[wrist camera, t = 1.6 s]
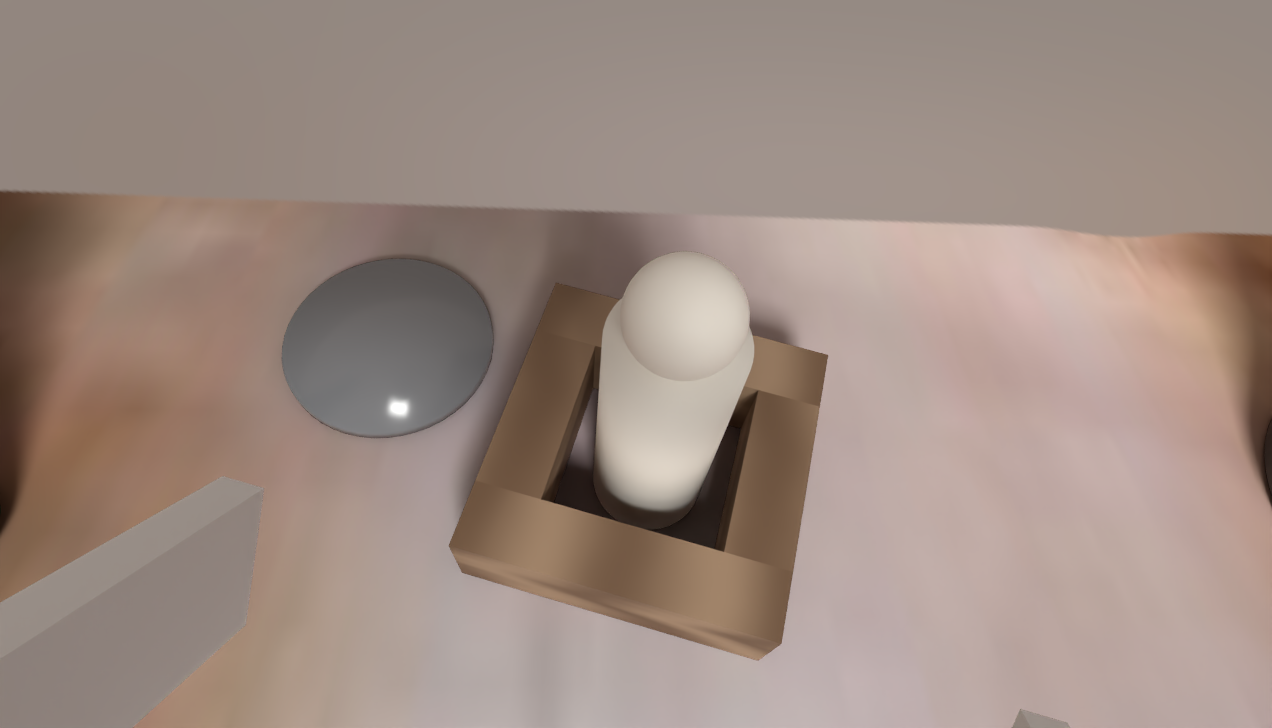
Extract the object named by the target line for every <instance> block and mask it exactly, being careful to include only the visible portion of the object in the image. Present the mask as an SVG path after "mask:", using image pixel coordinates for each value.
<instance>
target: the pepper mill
mask: <svg viewBox="0 0 1272 728" xmlns="http://www.w3.org/2000/svg"><path fill="white" fill-rule="evenodd" d="M749 323H750V309H749V303H748V299H747V296H746V293H745V290H744V288H743V286H742V284H741V283H740V281H739V280H738V278H737V277H736V275H735V274H734V273H733V272H732V271H731V270H730V269H729V268H728V267H727V266H726V265H724V264H723V263H721V262H720V261H718V260H717V259H715V258H713V257H710V256H708V255H705V254H702V253H697V252H689V251H681V252H673V253H669V254H666V255H663V256H660V257H658V258H656V259H654V260H652V261H650V262H649V263H647V264H646V265H645V266H644V267H642V268H641V269H640V270H639V271H638V272H637V273H636V275H635V276H634V277H633V278H632V280H631V281H630V283H629V284H628V286H627V288H626V291H625V293H624V295H623V298H621V299H620V300H619V301H618V302H617V304H616V305H615V306H614V307H613V308H612V310H611V312H610V313H609V315H608V317H607V319H606V322H605V325H604V329H603V335H602V348H601V363H600V379H599V395H598V410H597V426H596V441H595V457H594V472H593V481H594V488H595V491H596V494H597V497H598V499H599V501H600V503H601V504H602V506H603V507H604V508H605V510H606V511H607V512H608V513H609V514H610V515H611V516H612V517H614V518H615V519H616V520H618V521H619V522H621V523H625V524H628V525H632V526H635V527H639V528H642V529H646V530H651V529H660V528H664V527H667V526H670V525H672V524H674V523H676V522H677V521H679V520H681V519H682V518H683V517H684V516H685V515H686V514H687V513H688V512H689V511H690V510H691V508H692V507H693V505H694V504H695V502H696V499H697V497H698V495H699V492H700V490H701V488H702V485H703V483H704V481H705V478H706V476H707V473H708V471H709V469H710V466H711V464H712V461H713V459H714V457H715V454H716V452H717V449H718V447H719V445H720V442H721V440H722V437H723V435H724V433H725V430H726V428H727V426H728V423H729V421H730V418H731V416H732V414H733V411H734V409H735V406H736V404H737V402H738V399H739V397H740V394H741V392H742V390H743V387H744V385H745V382H746V380H747V378H748V375H749V373H750V370H751V367H752V364H753V359H754V341H753V336H752V333H751V330H750V327H749Z"/></svg>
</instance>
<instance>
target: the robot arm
mask: <svg viewBox="0 0 1272 728" xmlns="http://www.w3.org/2000/svg"><path fill="white" fill-rule="evenodd" d="M1265 467H1266V474H1267V479H1268V484H1269V487H1270V490H1271V494H1272V420H1271V422H1270V425H1269V427H1268V431H1267V435H1266V441H1265ZM263 493H264V488H262V487H258V486H255V485H251V484H248V483H245V482H241V481H238V480H234V479H231V478H227V477H224V476H222V477H220V478H218V479H217V480H215V481H213V482H211V483H210V484H208V485H206V486H204V487H203V488H201V489H199V490H197V491H195V492H194V493H192V494H190V495H188V496H187V497H185V498H183V499H181V500H180V501H178V502H176V503H174V504H173V505H171V506H169V507H167V508H166V509H164V510H162V511H160V512H159V513H157V514H155V515H153V516H152V517H150V518H148V519H146V520H145V521H143V522H141V523H139V524H137V525H136V526H134V527H132V528H130V529H129V530H127V531H125V532H123V533H122V534H120V535H118V536H116V537H115V538H113V539H111V540H109V541H108V542H106V543H104V544H102V545H101V546H99V547H97V548H95V549H94V550H92V551H90V552H88V553H87V554H85V555H83V556H81V557H79V558H78V559H76V560H74V561H72V562H71V563H69V564H67V565H65V566H64V567H62V568H60V569H58V570H57V571H55V572H53V573H51V574H50V575H48V576H46V577H44V578H43V579H41V580H39V581H37V582H36V583H34V584H32V585H30V586H29V587H27V588H25V589H23V590H21V591H20V592H18V593H16V594H14V595H13V596H11V597H9V598H7V599H6V600H4V601H2V602H0V728H132V727H134V726H135V725H136V724H137V723H138V722H139V721H140V720H141V719H142V718H144V717H145V716H146V715H147V714H148V713H149V712H150V711H151V710H152V709H153V708H155V707H156V706H157V705H158V704H159V703H160V702H161V701H162V700H163V699H164V698H166V697H167V696H168V695H169V694H170V693H171V692H172V691H173V690H174V689H175V688H177V687H178V686H179V685H180V684H181V683H182V682H183V681H184V680H185V679H187V678H188V677H189V676H190V675H191V674H192V673H193V672H194V671H195V670H196V669H198V668H199V667H200V666H201V665H202V664H203V663H204V662H205V661H206V660H207V659H209V658H210V657H211V656H212V655H213V654H214V653H215V652H216V651H217V650H219V649H220V648H221V647H222V646H223V645H224V644H225V643H226V642H227V641H228V640H230V639H231V638H232V637H233V636H234V635H235V634H236V633H237V632H238V631H239V630H241V629H242V628H243V627H244V626H245V625H246V619H247V612H248V604H249V597H250V590H251V582H252V575H253V567H254V560H255V553H256V545H257V538H258V530H259V523H260V515H261V508H262V501H263ZM1012 728H1070V726H1069V725H1068V723H1066V722H1063V721H1060V720H1056V719H1053V718H1049V717H1046V716H1042V715H1039V714H1036V713H1032V712H1029V711H1025V710H1022V709H1020V711H1019V713H1018V716H1017V718H1016V720H1015V722H1014V724H1013V727H1012Z"/></svg>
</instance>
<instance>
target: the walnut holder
mask: <svg viewBox="0 0 1272 728" xmlns="http://www.w3.org/2000/svg"><path fill="white" fill-rule="evenodd" d="M618 301H619V299H616V298H612V297H608V296H604V295H601V294H597V293H593V292H589V291H586V290H582V289H578V288H574V287H570V286H567V285H563V284H559V283H556V284H555V286H554V289H553V291H552V293H551V296H550V298H549V301H548V303H547V306H546V308H545V311H544V313H543V316H542V318H541V320H540V323H539V325H538V328H537V330H536V333H535V335H534V338H533V340H532V343H531V345H530V347H529V350H528V352H527V355H526V357H525V360H524V362H523V365H522V367H521V370H520V372H519V374H518V377H517V379H516V382H515V384H514V387H513V389H512V392H511V394H510V397H509V399H508V401H507V404H506V406H505V409H504V411H503V414H502V416H501V419H500V421H499V424H498V426H497V428H496V431H495V433H494V436H493V438H492V441H491V443H490V446H489V448H488V451H487V453H486V455H485V458H484V460H483V463H482V465H481V468H480V470H479V473H478V475H477V478H476V480H475V482H474V485H473V487H472V490H471V492H470V495H469V497H468V500H467V502H466V505H465V507H464V509H463V512H462V514H461V517H460V519H459V522H458V524H457V527H456V529H455V532H454V534H453V536H452V539H451V541H450V544H449V547H450V549H451V551H452V553H453V555H454V557H455V559H456V561H457V563H458V565H459V567H460V569H461V571H462V573H465V574H468V575H472V576H475V577H479V578H482V579H485V580H489V581H492V582H495V583H499V584H502V585H505V586H509V587H512V588H516V589H519V590H522V591H526V592H529V593H532V594H536V595H539V596H542V597H546V598H549V599H553V600H556V601H559V602H563V603H566V604H569V605H573V606H576V607H579V608H583V609H586V610H590V611H593V612H596V613H600V614H603V615H606V616H610V617H613V618H616V619H620V620H623V621H627V622H630V623H633V624H637V625H640V626H643V627H647V628H650V629H653V630H657V631H660V632H664V633H667V634H670V635H674V636H677V637H680V638H684V639H687V640H690V641H694V642H697V643H701V644H704V645H707V646H711V647H714V648H717V649H721V650H724V651H727V652H731V653H734V654H738V655H741V656H744V657H748V658H751V659H754V660H760V659H761V658H762V657H764V656H765V655H767V654H768V653H769V652H771V651H772V650H773V649H775V648H776V647H778V646H779V645H780V644H781V643H782V637H783V630H784V624H785V618H786V612H787V606H788V599H789V593H790V587H791V581H792V575H793V569H794V562H795V556H796V550H797V544H798V538H799V532H800V525H801V519H802V513H803V507H804V501H805V494H806V488H807V482H808V476H809V470H810V464H811V457H812V451H813V445H814V439H815V433H816V427H817V420H818V414H819V408H820V402H821V396H822V389H823V383H824V377H825V371H826V365H827V359H828V355H826V354H822V353H818V352H815V351H811V350H807V349H803V348H800V347H796V346H792V345H788V344H785V343H781V342H777V341H773V340H769V339H766V338H762V337H758V336H754V335H752V336H753V341H754V359H753V364H752V367H751V370H750V373H749V375H748V378H747V380H746V382H745V385H744V387H743V390H742V392H741V394H740V397H739V399H738V402H737V404H736V406H735V409H734V411H733V414H732V416H731V418H730V421H729V423H728V425H730V426H733V427H737V428H741V430H740V435H739V440H738V444H737V449H736V453H735V458H734V462H733V467H732V471H731V476H730V480H729V485H728V490H727V494H726V499H725V503H724V508H723V512H722V517H721V521H720V526H719V531H718V535H717V540H716V544H715V549H712V548H708V547H705V546H701V545H698V544H694V543H691V542H687V541H684V540H681V539H677V538H674V537H670V536H667V535H663V534H660V533H656V532H653V531H649V530H646V529H642V528H639V527H635V526H632V525H628V524H625V523H621V522H618V521H615V520H611V519H608V518H604V517H601V516H597V515H594V514H590V513H587V512H583V511H580V510H576V509H573V508H569V507H566V506H562V505H559V504H555V503H554V500H555V497H556V494H557V492H558V489H559V486H560V483H561V480H562V477H563V474H564V471H565V468H566V465H567V462H568V460H569V457H570V454H571V451H572V448H573V445H574V442H575V439H576V436H577V433H578V430H579V428H580V425H581V422H582V419H583V416H584V413H585V410H586V407H587V404H588V401H589V399H590V396H591V393H592V390H593V388H596V389H599V379H600V363H601V348H602V335H603V329H604V325H605V322H606V319H607V317H608V315H609V313H610V312H611V310H612V308H613V307H614V306H615V305H616V304H617V302H618Z"/></svg>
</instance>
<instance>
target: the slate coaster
mask: <svg viewBox="0 0 1272 728" xmlns="http://www.w3.org/2000/svg"><path fill="white" fill-rule="evenodd" d="M492 352H493V332H492V325H491V321H490V317H489V313H488V311H487V308H486V306H485V304H484V302H483V300H482V299H481V297H480V296H479V294H478V293H477V292H476V291H475V290H474V288H473V287H472V286H471V285H470V284H469V283H467V282H466V281H465V280H464V279H463V278H461V277H460V276H458V275H457V274H455V273H454V272H452V271H450V270H448V269H446V268H443V267H441V266H438V265H435V264H432V263H429V262H424V261H420V260H412V259H387V260H378V261H373V262H369V263H365V264H361V265H358V266H355V267H352V268H350V269H348V270H345V271H343V272H341V273H339V274H337V275H335V276H334V277H332V278H330V279H329V280H327V281H326V282H324V283H323V284H321V285H320V286H319V287H318V288H317V289H315V290H314V291H313V292H312V293H311V294H310V295H309V296H308V297H307V298H306V299H305V300H304V301H303V302H302V303H301V305H300V306H299V308H298V309H297V311H296V312H295V313H294V315H293V317H292V319H291V321H290V323H289V325H288V327H287V330H286V333H285V336H284V341H283V346H282V364H283V371H284V374H285V378H286V381H287V383H288V385H289V387H290V389H291V391H292V393H293V394H294V396H295V397H296V398H297V400H298V401H299V403H300V404H301V405H302V407H303V408H304V409H305V410H306V411H307V412H308V413H309V414H310V415H311V416H313V417H314V418H315V419H317V420H318V421H319V422H321V423H322V424H324V425H326V426H328V427H330V428H332V429H334V430H337V431H340V432H343V433H345V434H349V435H354V436H359V437H368V438H389V437H396V436H403V435H407V434H411V433H415V432H418V431H420V430H423V429H426V428H428V427H431V426H433V425H435V424H437V423H439V422H440V421H442V420H444V419H446V418H447V417H448V416H450V415H451V414H453V413H454V412H456V411H457V410H458V409H459V408H460V407H461V406H463V405H464V404H465V403H466V402H467V401H468V400H469V399H470V397H471V396H472V395H473V394H474V393H475V391H476V390H477V389H478V387H479V386H480V384H481V383H482V381H483V379H484V377H485V375H486V373H487V371H488V368H489V365H490V362H491V357H492Z"/></svg>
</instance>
